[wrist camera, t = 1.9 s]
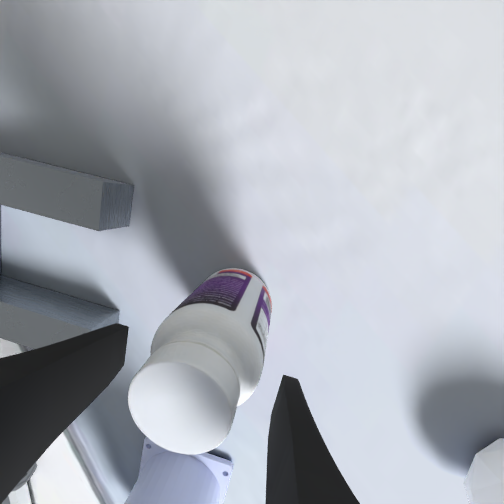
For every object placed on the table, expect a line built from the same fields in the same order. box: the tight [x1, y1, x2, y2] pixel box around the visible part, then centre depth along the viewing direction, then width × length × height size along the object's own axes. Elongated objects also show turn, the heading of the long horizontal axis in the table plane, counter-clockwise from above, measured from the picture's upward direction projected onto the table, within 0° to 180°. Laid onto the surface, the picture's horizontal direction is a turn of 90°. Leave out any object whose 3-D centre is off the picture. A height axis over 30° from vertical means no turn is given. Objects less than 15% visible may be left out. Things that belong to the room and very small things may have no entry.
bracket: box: [0, 152, 134, 349], centre depth 18 cm, size 13×14×3 cm
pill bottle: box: [128, 268, 272, 455], centre depth 13 cm, size 5×5×10 cm
